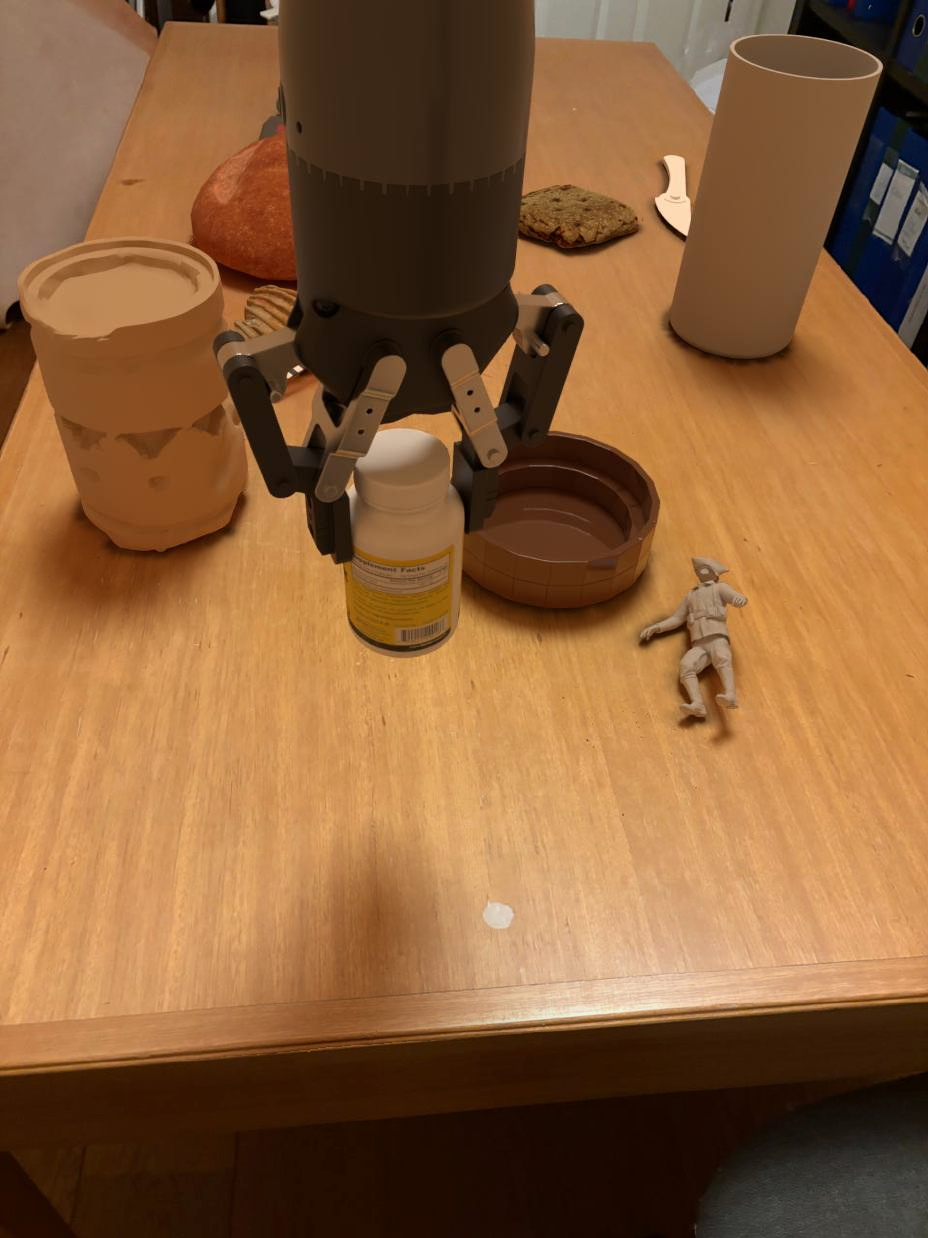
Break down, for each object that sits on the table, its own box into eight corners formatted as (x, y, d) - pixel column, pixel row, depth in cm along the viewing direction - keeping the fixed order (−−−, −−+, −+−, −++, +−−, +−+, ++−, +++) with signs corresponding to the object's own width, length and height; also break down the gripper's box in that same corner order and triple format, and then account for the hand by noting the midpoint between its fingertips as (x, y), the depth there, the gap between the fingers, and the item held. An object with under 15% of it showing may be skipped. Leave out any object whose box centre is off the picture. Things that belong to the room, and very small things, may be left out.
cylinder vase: (652, 341, 93) (713, 60, 75) (686, 290, 101) (749, 25, 83) (776, 375, 90) (870, 90, 72) (801, 319, 98) (892, 50, 80)
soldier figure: (639, 721, 61) (629, 560, 66) (679, 739, 64) (666, 584, 69) (748, 693, 56) (727, 522, 61) (786, 714, 59) (763, 549, 64)
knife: (654, 158, 127) (656, 150, 127) (687, 162, 127) (688, 154, 126) (653, 239, 109) (655, 230, 109) (690, 243, 109) (692, 234, 108)
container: (177, 576, 67) (123, 349, 54) (49, 515, 70) (-31, 289, 57) (284, 484, 74) (260, 267, 61) (163, 434, 78) (116, 220, 65)
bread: (407, 179, 118) (407, 103, 112) (383, 300, 96) (382, 213, 90) (229, 168, 118) (220, 91, 112) (165, 286, 96) (148, 198, 90)
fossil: (345, 340, 90) (255, 317, 90) (348, 290, 86) (253, 266, 85) (310, 423, 83) (213, 399, 83) (311, 374, 79) (208, 348, 79)
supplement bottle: (380, 568, 47) (377, 403, 40) (476, 604, 46) (491, 440, 39) (324, 637, 44) (310, 471, 37) (427, 678, 43) (433, 514, 35)
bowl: (683, 586, 68) (699, 534, 65) (494, 635, 64) (500, 583, 60) (590, 466, 78) (599, 416, 74) (419, 502, 74) (420, 450, 70)
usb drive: (257, 165, 119) (255, 142, 117) (266, 132, 127) (264, 110, 125) (298, 167, 120) (296, 144, 118) (304, 133, 128) (303, 111, 126)
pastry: (645, 259, 106) (651, 233, 104) (494, 250, 106) (496, 224, 103) (630, 197, 118) (634, 173, 116) (494, 189, 118) (495, 165, 115)
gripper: (197, 199, 24) (264, 635, 37) (668, 149, 29) (586, 554, 41) (149, 102, 29) (222, 518, 41) (560, 71, 33) (515, 456, 46)
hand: (403, 534), depth 41 cm, fingers closed on supplement bottle, 5 cm apart
